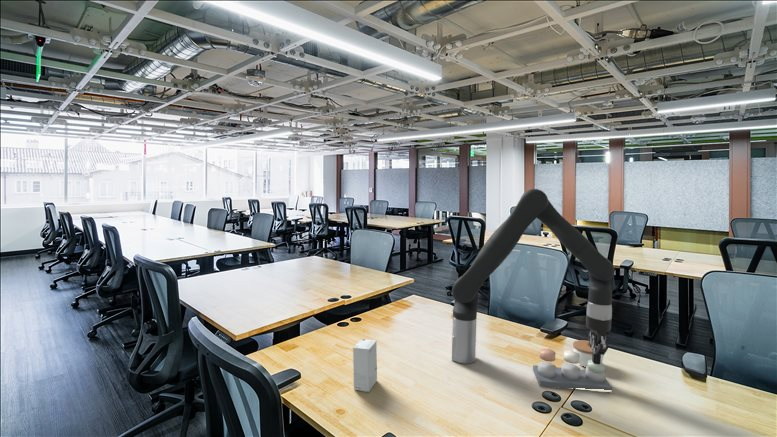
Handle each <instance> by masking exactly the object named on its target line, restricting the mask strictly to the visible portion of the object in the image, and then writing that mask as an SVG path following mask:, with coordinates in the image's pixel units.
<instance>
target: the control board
mask: <svg viewBox="0 0 777 437" xmlns="http://www.w3.org/2000/svg"><path fill="white" fill-rule="evenodd" d="M532 365H533V364H532ZM532 371H533V373H534V376H535V378H536V380H537V383H538V386H539V387H542V386H543V388H544V387H545V388H552V387H556V388H555V389H563V388H573V389H575V388H585V389H604V390H612V391H613V386H612V385H611V384H610V382H609V381H608V380H607V379H606V370H605V369H604V372H603V373H594V372H591V371H590V370H588V368H587V367H586V368H585V369H581V368H580V367H579V366H578V365H577V364H573V363H562V364H561V367H558V366H556V365H555V364H554V363H552V362H549V361H539V362H537V365H533V366H532ZM558 387H559V388H558ZM573 389H572V390H573Z"/></svg>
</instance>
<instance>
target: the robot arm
mask: <svg viewBox="0 0 777 437" xmlns="http://www.w3.org/2000/svg"><path fill="white" fill-rule="evenodd" d="M536 219H538V220H539V221H540V222H542V223H543V224H544V225H545V226H546V227H547V228H548V230H550V231H551V233H552V234H553V235H554V236H555V237H556V239H557V240H558V241H559V242H560V243H561V244H562V245H563V247H564V248H565V249H567V251H568V252H570V253H571V255H572V256H574V258H576V259H577V260H579V262H580V263H581V264H582V265H583V267H584V268H585V269H586V270H587V271H588V276H589V277H588V280H589V281H588V282H589V287H588V294H587V295H588V297H587V305H586V317H585V326H586V328H587V329H589V330H587V337H588V341H589V344H590V348H592V349H591V350H592V362H593V363H594V364H600V361H601V355H604V356H605V354H606V352H608V349H609V348H610V347H609V344H606V340H607V336H606V334H607V332H610V331H611V329H612V320H613V319H612V318H613V307H612V303H613V302H612V301H613V290H612V284H611V283H612V278H613V277H614V275H615V266H614V265H613V263H612V262H611V261H610V260H609V259H608V258H607V257H605V256H604V255H602V253H600V252H599V251H598V249H596V248H595V246H594V245H593V243H592V242H590V240H588V238H587V237H586V236H585V235H583V233H582V232H581V231H579V230H578V229H577V228H576V227H575V226H574V225H572V223H571V222H569V221H568V220H567V219H566V218H564V217H563V216H562V215H561V214H560V213H559V211H558V210H557V209H556V208H555V207H554V205H553V204H552V202H550V199H548V196H547V194H546V193H545V192H544V191H543V190H541V189H538V188H532V189H528V190H526V191H525V192H524V193H523V194H522V195H521V196H520V199H519V201H518V202H517V204H516V206H515V207H514V209H513V210H512V212H511V213H510V215H509V216H508V217H507V218H506V220H504V221H503V222H502V223H501V224H500V225H499V226H498V227H497V229H495V230H494V231H493V233H492V234H491V235H490V237H489V238H488V239H487V240H486V241H485V243H484V245H483V246H482V247H481V249H480V250H479V252H478V253H477V255H476V257H475V259H474V260H473V262H472V264H471V265H470V266H469V267H468V269H467V270H466V271H465V272H464V273H463V275H461V276H459V277H458V278H457V279H456V281H454V283H453V285H452V289H451V293H452V296H453V298H454V303H453V308H452V333H451V334H452V338H451V339H452V340H451V361H452V362H456V363H459V364H464V365H467V364H468V365H469V364H472V363H475V361H476V351H477V350H476V349H477V348H476V346H477V344H476V343H477V320H478V319H477V316H478V306H479V305H478V304H479V303H478V302H479V290H480V289H481V287H483V284H484V283H485V282H486V280H487V279H488V278H489V277H490V276H491V275H492V274H493V273H494V272H495V270H497V269H498V268H499V267H500V266H501V265H502V264H503V262H504V261H505V260H506V259H507V257H508V256H509V255H510V254H511V253H512V251H513V250H514V249H515V247H516V246H517V244H518V243H519V241H520V240H521V238H522V236H523V234H524V233H525V231H526V230H527V229H528V228H529V226H530V225H531V224H533V222H534V221H535V220H536Z"/></svg>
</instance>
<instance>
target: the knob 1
mask: <svg viewBox="0 0 777 437" xmlns="http://www.w3.org/2000/svg"><path fill="white" fill-rule="evenodd" d="M539 358H540V359H541V360H542V361H544V362H549V363H552V362H554V361H556V352H555V351H554V350H553V349H551V348H541V349H539Z"/></svg>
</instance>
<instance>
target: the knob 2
mask: <svg viewBox="0 0 777 437" xmlns="http://www.w3.org/2000/svg"><path fill="white" fill-rule="evenodd" d="M587 368H588V370H590V371H591V372H594V373H603V372H604V370H605V364H604V362H603V361H602V362H600V364H594V363H593V362H592V360H588V366H587Z"/></svg>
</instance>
